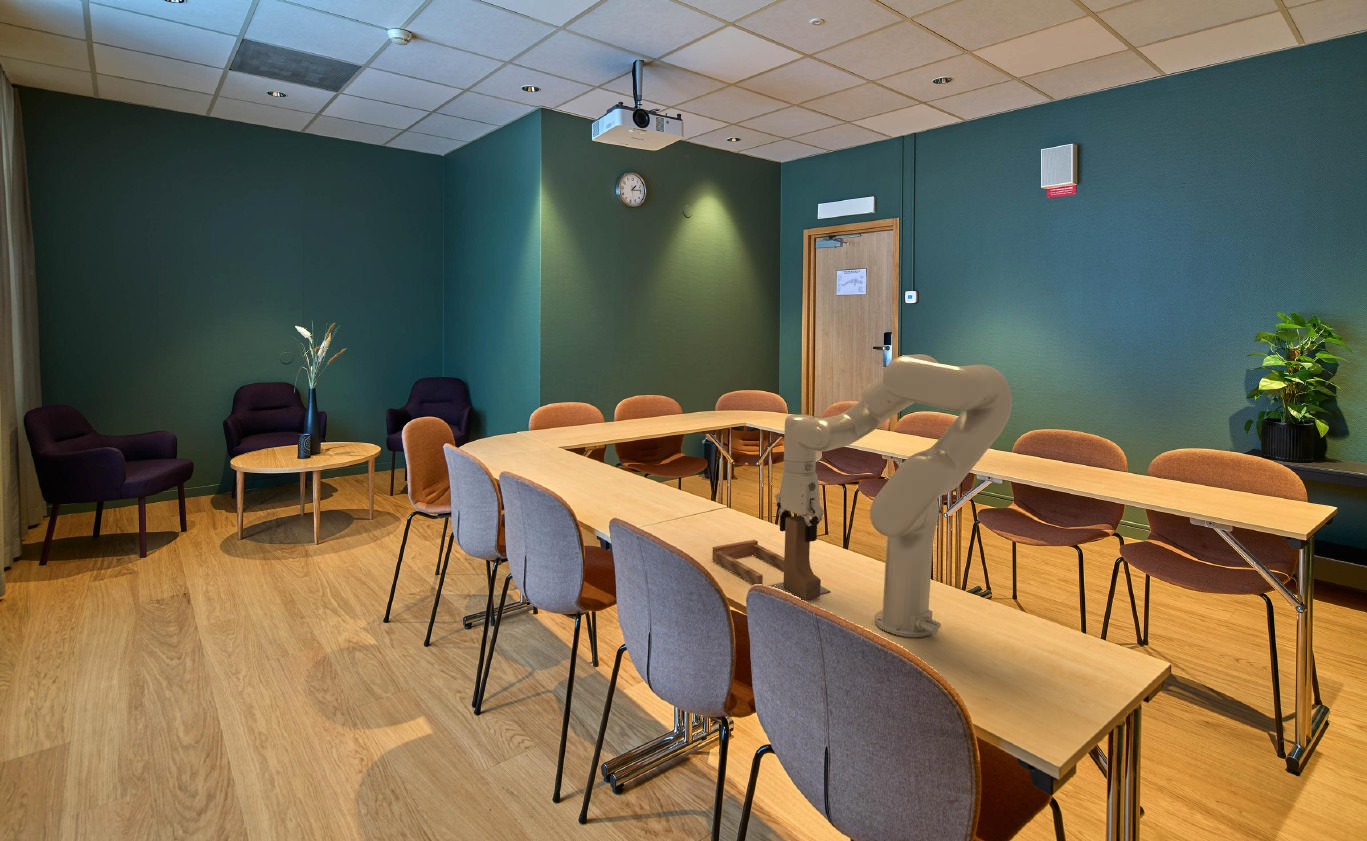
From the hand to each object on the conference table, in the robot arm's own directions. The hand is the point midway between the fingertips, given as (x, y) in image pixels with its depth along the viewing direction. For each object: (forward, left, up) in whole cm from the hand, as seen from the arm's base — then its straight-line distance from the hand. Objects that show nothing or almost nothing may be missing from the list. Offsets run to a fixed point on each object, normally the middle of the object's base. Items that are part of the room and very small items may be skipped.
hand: (797, 535), depth 171 cm
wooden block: (-2, 0, -14) cm, 14 cm away
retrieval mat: (0, 0, -14) cm, 14 cm away
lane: (+16, 0, -14) cm, 21 cm away
